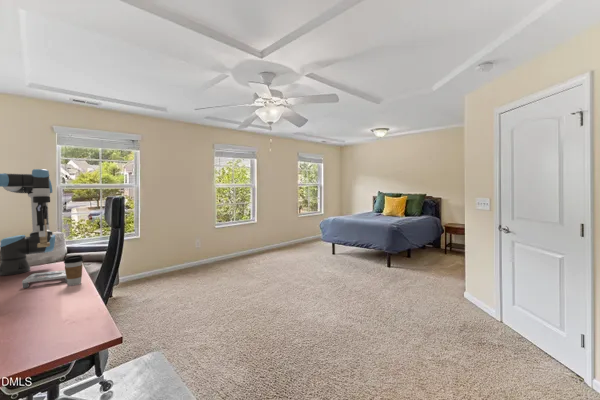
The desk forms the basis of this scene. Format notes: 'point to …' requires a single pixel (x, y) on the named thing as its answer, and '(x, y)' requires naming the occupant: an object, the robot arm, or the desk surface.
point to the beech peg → (44, 238)
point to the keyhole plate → (46, 277)
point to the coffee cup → (73, 269)
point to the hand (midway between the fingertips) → (43, 236)
